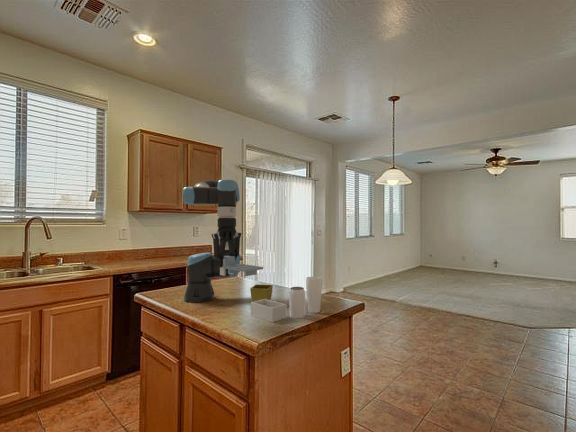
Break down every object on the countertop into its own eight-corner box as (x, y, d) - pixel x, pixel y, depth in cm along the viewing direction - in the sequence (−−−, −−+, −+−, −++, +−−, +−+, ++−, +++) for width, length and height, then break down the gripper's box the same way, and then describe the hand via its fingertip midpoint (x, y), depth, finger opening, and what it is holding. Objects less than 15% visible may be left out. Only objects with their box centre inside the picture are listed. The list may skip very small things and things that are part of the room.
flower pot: (268, 308, 142) (268, 288, 143) (249, 307, 144) (249, 288, 144) (273, 303, 151) (272, 285, 151) (255, 302, 153) (255, 284, 153)
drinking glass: (317, 315, 132) (317, 279, 132) (303, 313, 135) (303, 278, 136) (324, 311, 138) (324, 277, 138) (310, 309, 141) (310, 275, 141)
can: (288, 314, 133) (288, 286, 133) (303, 314, 133) (303, 286, 134) (290, 319, 126) (290, 289, 127) (306, 319, 127) (306, 289, 127)
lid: (214, 271, 126) (214, 256, 126) (232, 269, 133) (232, 255, 133) (245, 277, 113) (244, 260, 114) (263, 274, 120) (263, 258, 120)
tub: (250, 316, 130) (250, 302, 130) (264, 312, 136) (264, 298, 136) (272, 323, 121) (272, 308, 121) (286, 319, 127) (286, 304, 127)
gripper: (215, 217, 120) (215, 278, 120) (248, 217, 132) (248, 273, 132) (204, 217, 125) (204, 276, 125) (237, 217, 137) (237, 271, 137)
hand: (226, 274), depth 128 cm, fingers closed on lid, 3 cm apart
